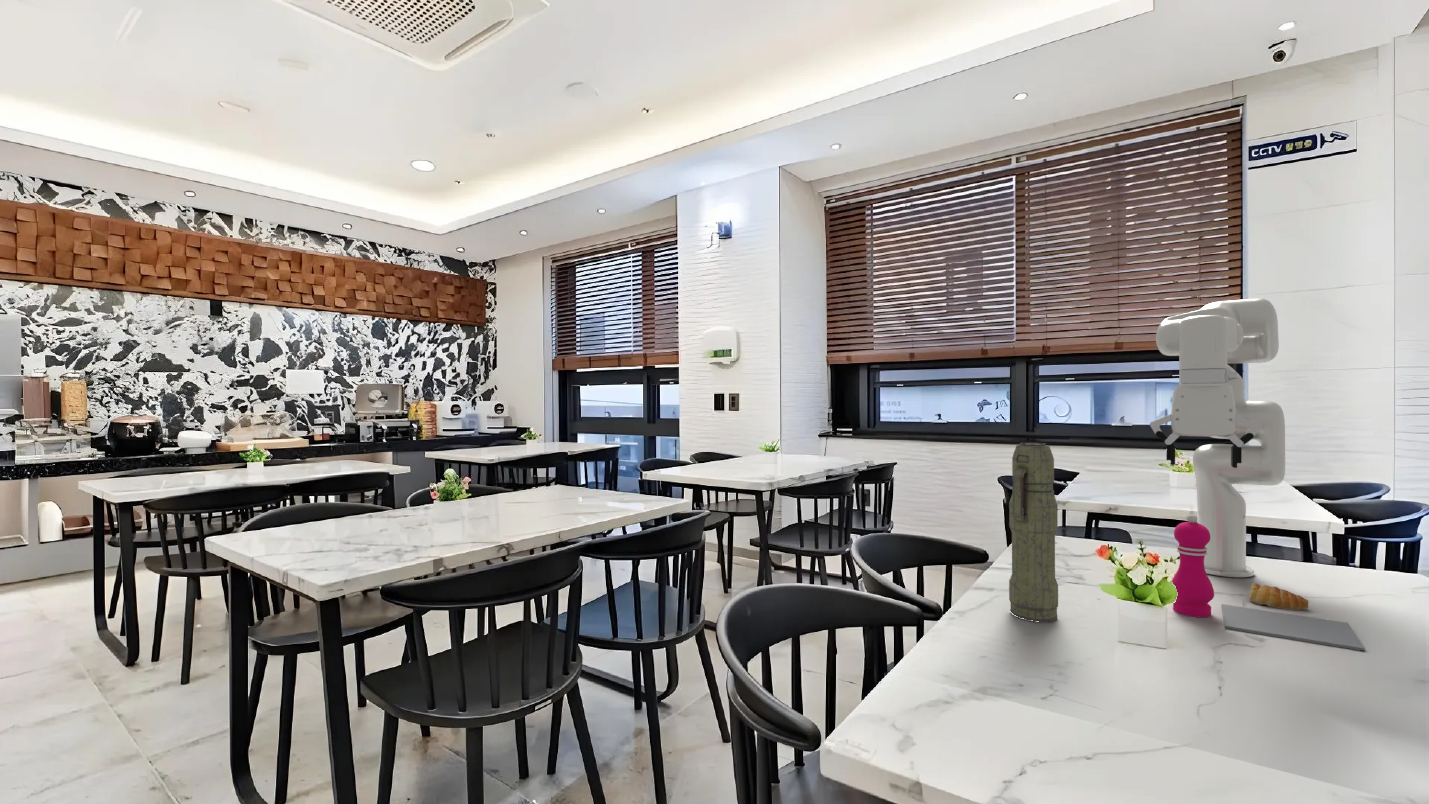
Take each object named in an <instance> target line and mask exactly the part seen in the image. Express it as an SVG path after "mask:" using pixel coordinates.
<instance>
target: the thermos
mask: <svg viewBox="0 0 1429 804" xmlns="http://www.w3.org/2000/svg"><path fill="white" fill-rule="evenodd" d="M1011 461H1012V463H1011V465H1012V467H1011V469H1012V470H1011V473H1012V476H1011V477H1012V478H1011V479H1012V493H1011V497H1010V500H1009V502H1008V509H1009V512H1008V513H1009V514H1008V516H1009V518H1008V519H1009V522H1008V526H1009V529H1010V531H1011V576H1010V578H1009V579H1008V585H1009V586H1008V588H1009V589H1008V592H1009V593H1008V599H1009V602H1010V608H1009V612H1010V611H1011V612H1012V613H1013V614H1014V615H1016V616H1018V617H1020V618H1024V619H1026V620H1033V621H1039V622H1038V623H1040V622H1047V623H1053V622H1056V621H1057V620H1058V607H1059V584H1058V581H1057V579H1056V535H1057V532H1058V528H1059V527H1058V525H1059V524H1058V523H1059V522H1058V518H1059V517H1058V515H1059V514H1058V510H1059V509H1058V502H1057V499H1056V497H1055V489H1054V483H1055V458H1054V454H1053V453H1052V449H1051V447H1050V445H1046V443H1044V442H1020V443H1019V444H1016V446H1015V449H1014V452H1013V454H1012V459H1011ZM1026 620H1025V621H1026ZM1055 620H1056V621H1055ZM1052 621H1053V622H1052Z"/></svg>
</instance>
